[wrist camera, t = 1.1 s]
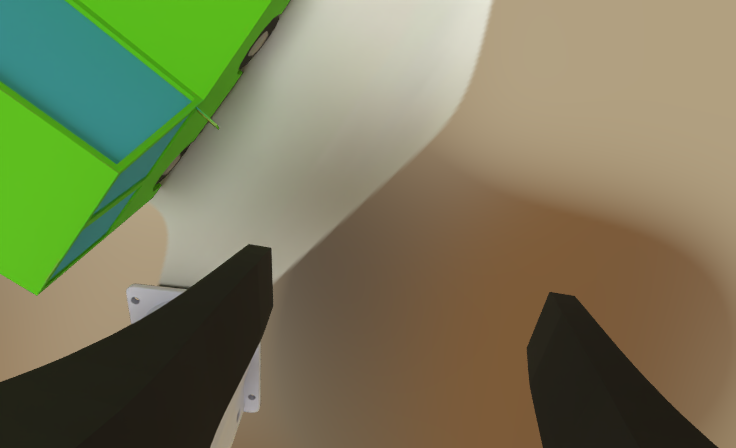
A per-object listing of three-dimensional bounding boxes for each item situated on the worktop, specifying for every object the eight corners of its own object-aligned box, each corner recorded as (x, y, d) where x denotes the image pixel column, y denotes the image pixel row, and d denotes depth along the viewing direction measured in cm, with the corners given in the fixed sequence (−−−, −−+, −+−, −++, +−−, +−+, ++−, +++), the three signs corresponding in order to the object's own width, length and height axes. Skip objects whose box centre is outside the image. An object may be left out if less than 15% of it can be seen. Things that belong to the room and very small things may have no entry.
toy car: (331, 0, 21) (287, 1, 12) (179, 200, 25) (64, 312, 16) (129, -193, 18) (-133, -387, 9) (1, 72, 22) (-255, 121, 14)
